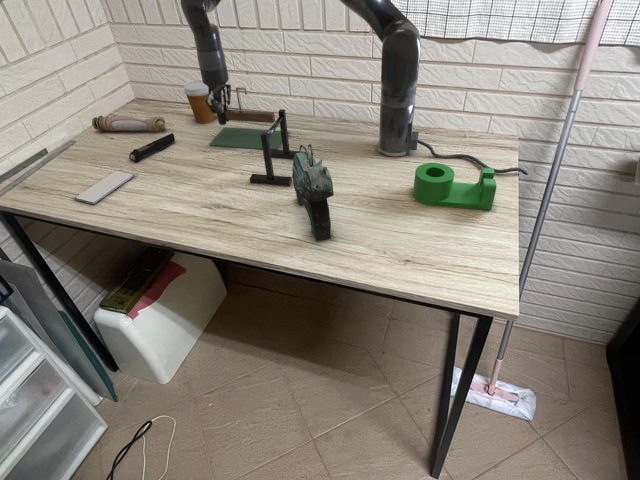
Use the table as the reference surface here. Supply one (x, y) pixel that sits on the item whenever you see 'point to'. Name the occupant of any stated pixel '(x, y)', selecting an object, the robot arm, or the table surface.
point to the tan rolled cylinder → (128, 123)
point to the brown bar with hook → (248, 113)
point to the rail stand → (275, 154)
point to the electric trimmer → (151, 147)
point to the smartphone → (104, 187)
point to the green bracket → (453, 188)
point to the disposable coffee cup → (199, 101)
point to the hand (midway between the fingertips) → (224, 122)
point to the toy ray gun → (313, 191)
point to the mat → (245, 138)
